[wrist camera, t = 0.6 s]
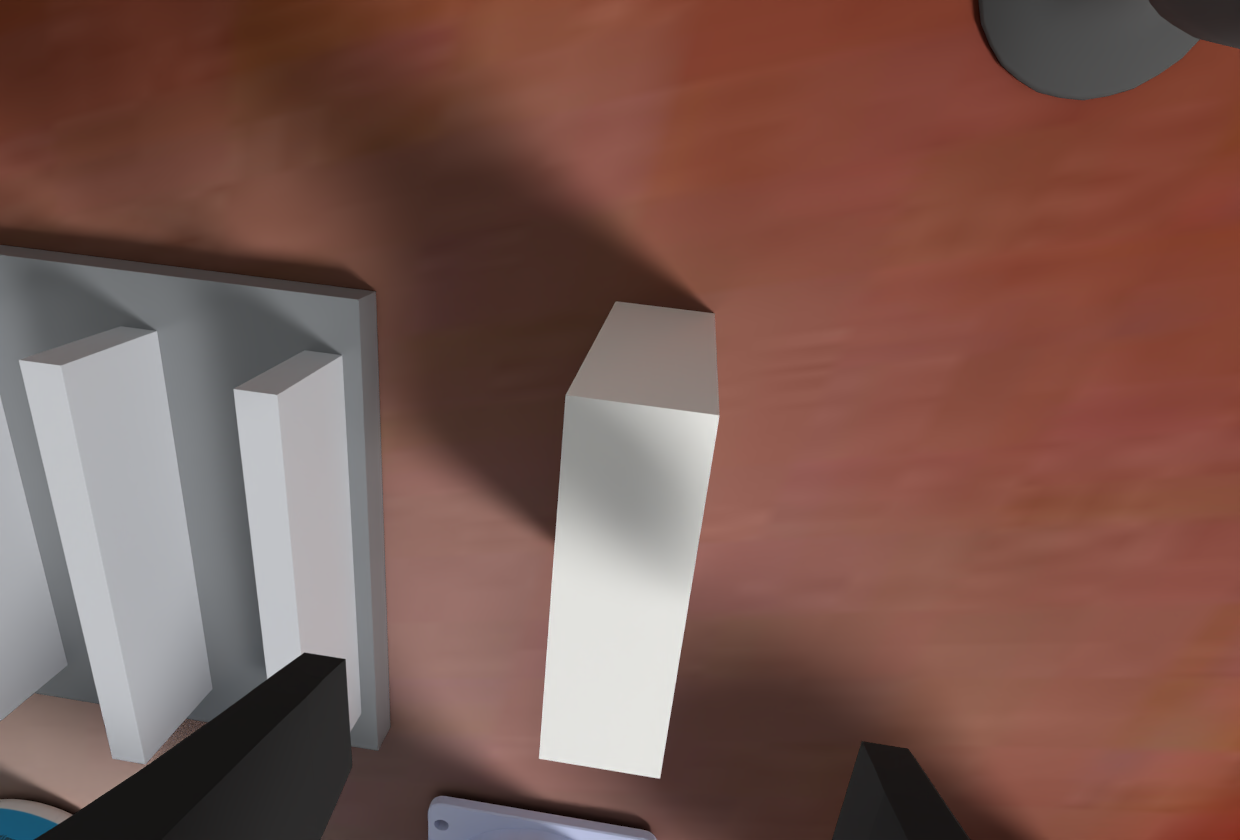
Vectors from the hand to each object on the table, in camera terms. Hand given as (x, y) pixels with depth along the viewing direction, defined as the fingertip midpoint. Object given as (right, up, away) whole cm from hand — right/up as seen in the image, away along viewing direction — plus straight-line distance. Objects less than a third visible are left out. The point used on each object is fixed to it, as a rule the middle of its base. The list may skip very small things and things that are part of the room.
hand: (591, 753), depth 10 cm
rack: (-15, +2, +12) cm, 19 cm away
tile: (+1, +4, +10) cm, 10 cm away
